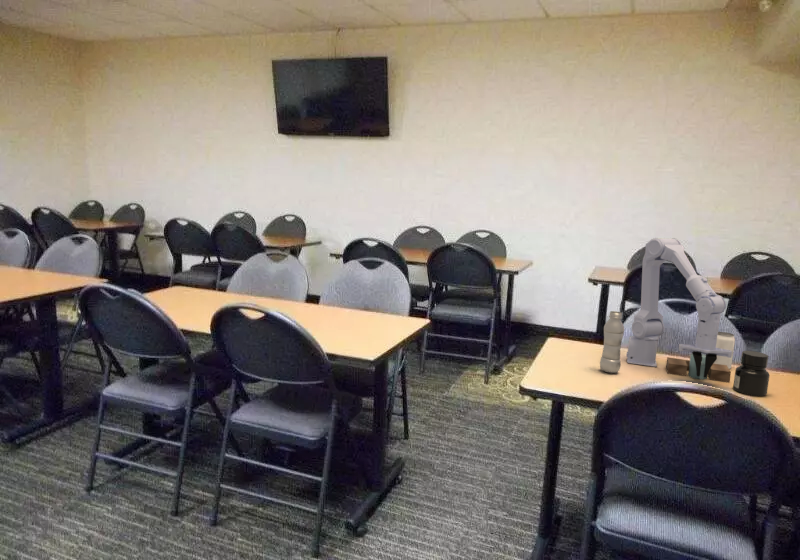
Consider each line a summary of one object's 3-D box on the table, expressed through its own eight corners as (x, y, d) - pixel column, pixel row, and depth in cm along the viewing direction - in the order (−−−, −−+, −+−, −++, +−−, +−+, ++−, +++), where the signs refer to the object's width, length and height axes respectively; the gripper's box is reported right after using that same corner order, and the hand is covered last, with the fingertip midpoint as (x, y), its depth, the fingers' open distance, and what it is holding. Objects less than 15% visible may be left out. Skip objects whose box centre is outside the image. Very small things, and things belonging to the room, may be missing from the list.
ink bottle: (740, 384, 180) (746, 348, 178) (771, 393, 173) (777, 355, 171) (727, 390, 174) (732, 352, 172) (758, 399, 167) (764, 359, 166)
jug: (690, 382, 180) (693, 361, 179) (687, 372, 190) (689, 352, 189) (710, 385, 178) (713, 363, 177) (705, 375, 188) (708, 355, 187)
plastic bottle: (620, 371, 188) (627, 311, 185) (619, 376, 182) (625, 315, 179) (600, 367, 191) (606, 309, 188) (597, 373, 185) (604, 312, 182)
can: (733, 370, 195) (738, 336, 193) (713, 368, 196) (718, 335, 195) (727, 365, 202) (731, 332, 200) (707, 363, 203) (711, 330, 201)
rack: (667, 373, 188) (668, 363, 188) (665, 367, 196) (667, 357, 195) (729, 382, 182) (730, 372, 181) (725, 375, 189) (726, 365, 189)
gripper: (682, 333, 176) (677, 375, 178) (735, 340, 171) (729, 383, 173) (680, 328, 182) (675, 369, 185) (731, 335, 177) (725, 376, 179)
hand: (701, 376), depth 179 cm, fingers closed on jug
